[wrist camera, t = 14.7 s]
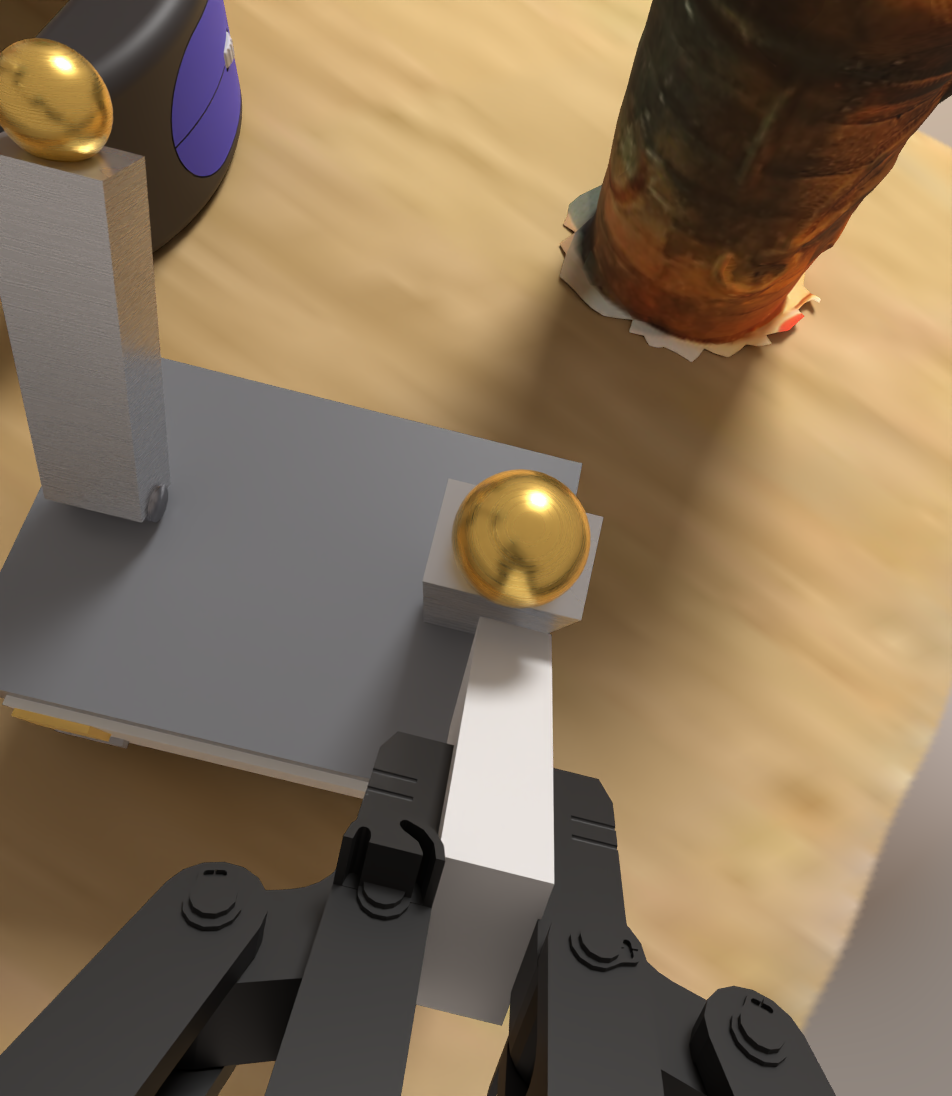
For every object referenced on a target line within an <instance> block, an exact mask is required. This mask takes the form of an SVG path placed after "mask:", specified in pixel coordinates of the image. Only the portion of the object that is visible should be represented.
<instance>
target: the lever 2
mask: <svg viewBox="0 0 952 1096" xmlns="http://www.w3.org/2000/svg"><path fill="white" fill-rule="evenodd" d="M602 521H603V517H601V516H597V515H593V514H589V513H585V510H584V508H583V506H582V505H581V503H580V501H579V500H578V498H577V497H576V496H575V494H574V493H573V492H572V491H571V490H570V489H569V488H568V487H567V486H565V485H564V484H563V483H562V482H560V481H559V480H557V479H555V478H554V477H552V476H549V475H547V474H545V473H541V472H538V471H533V470H524V469H518V470H509V471H504V472H501V473H498V474H495V475H493V476H491V477H489V478H487V479H485V480H483V481H482V482H480V483H479V484H478V485H473V484H469V483H465V482H461V481H457V480H453V479H448V483H447V487H446V491H445V495H444V499H443V503H442V506H441V510H440V514H439V518H438V522H437V526H436V530H435V534H434V538H433V542H432V546H431V550H430V554H429V557H428V561H427V565H426V569H425V573H424V577H423V581H422V582H423V610H424V622H427V623H431V624H435V625H439V626H443V627H447V628H451V629H455V630H459V631H463V632H467V633H471V634H475V632H476V629H477V625H478V621H479V618H480V617H483V618H487V619H491V620H495V621H499V622H503V623H507V624H511V625H515V626H519V627H523V628H527V629H531V630H535V631H539V632H543V633H547V634H548V633H550V632H553V631H555V630H558V629H560V628H563V627H565V626H568V625H571V624H573V623H576V622H578V621H581V619H582V614H583V610H584V605H585V600H586V596H587V591H588V586H589V582H590V577H591V572H592V568H593V563H594V559H595V554H596V549H597V545H598V540H599V535H600V531H601V526H602Z"/></svg>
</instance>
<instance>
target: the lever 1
mask: <svg viewBox="0 0 952 1096" xmlns="http://www.w3.org/2000/svg"><path fill="white" fill-rule="evenodd" d="M112 124H113V107H112V101H111V98H110V95H109V92H108V90H107V87H106V85H105V83H104V81H103V79H102V78H101V76H100V75H99V73H98V72H97V70H96V69H95V68H94V67H93V66H92V65H91V63H90V62H89V61H88V60H86V59H85V58H84V57H83V56H82V55H81V54H79V53H78V52H76V51H75V50H74V49H72V48H70V47H68V46H66V45H64V44H62V43H59V42H56V41H53V40H49V39H42V38H31V39H24V40H21V41H18V42H15V43H13V44H12V45H10V46H8V47H7V48H6V49H5V50H3V51H2V52H1V53H0V125H1V127H2V128H3V129H4V132H1V133H0V297H1V302H2V306H3V311H4V315H5V320H6V324H7V329H8V334H9V338H10V343H11V347H12V352H13V356H14V361H15V366H16V370H17V375H18V379H19V384H20V389H21V393H22V398H23V402H24V407H25V411H26V416H27V421H28V425H29V430H30V434H31V439H32V443H33V448H34V453H35V457H36V462H37V466H38V471H39V475H40V480H41V485H42V489H43V494H44V498H45V499H48V500H52V501H56V502H60V503H64V504H68V505H72V506H76V507H80V508H84V509H88V510H92V511H96V512H100V513H104V514H108V515H113V516H117V517H121V518H125V519H129V520H133V521H137V522H141V523H142V522H143V521H144V520H148V521H152V522H158V521H159V520H160V519H161V518H162V516H163V514H164V512H165V510H166V507H167V503H168V487H169V486H170V485H171V482H170V469H169V457H168V444H167V431H166V419H165V406H164V394H163V381H162V368H161V356H160V343H159V331H158V318H157V305H156V293H155V280H154V268H153V255H152V242H151V230H150V217H149V205H148V192H147V179H146V167H145V156H141V155H137V154H133V153H130V152H126V151H122V150H118V149H114V148H110V147H106V146H104V145H105V143H106V142H107V140H108V138H109V135H110V133H111V129H112Z"/></svg>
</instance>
